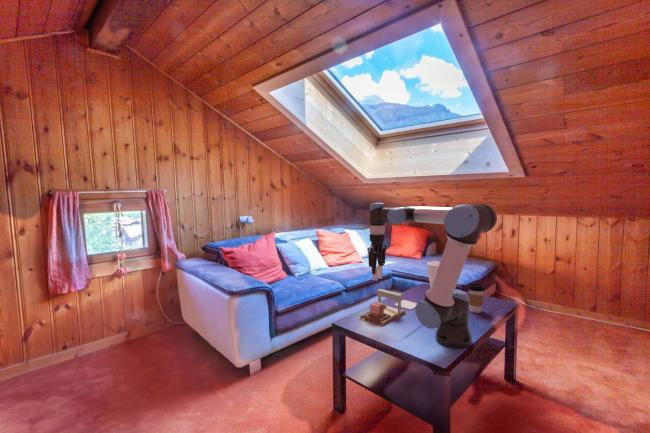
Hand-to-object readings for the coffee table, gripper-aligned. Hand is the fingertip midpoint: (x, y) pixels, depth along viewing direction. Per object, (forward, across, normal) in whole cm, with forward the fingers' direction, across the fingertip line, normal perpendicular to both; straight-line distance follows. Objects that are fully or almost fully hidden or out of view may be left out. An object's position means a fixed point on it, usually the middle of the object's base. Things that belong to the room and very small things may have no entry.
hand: (377, 278), depth 166 cm
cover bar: (+19, -11, 0) cm, 22 cm away
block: (+21, 0, 0) cm, 21 cm away
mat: (+23, -31, -1) cm, 39 cm away
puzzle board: (+23, -6, 0) cm, 23 cm away
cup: (+23, -55, +5) cm, 60 cm away
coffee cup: (+23, -49, +31) cm, 62 cm away
